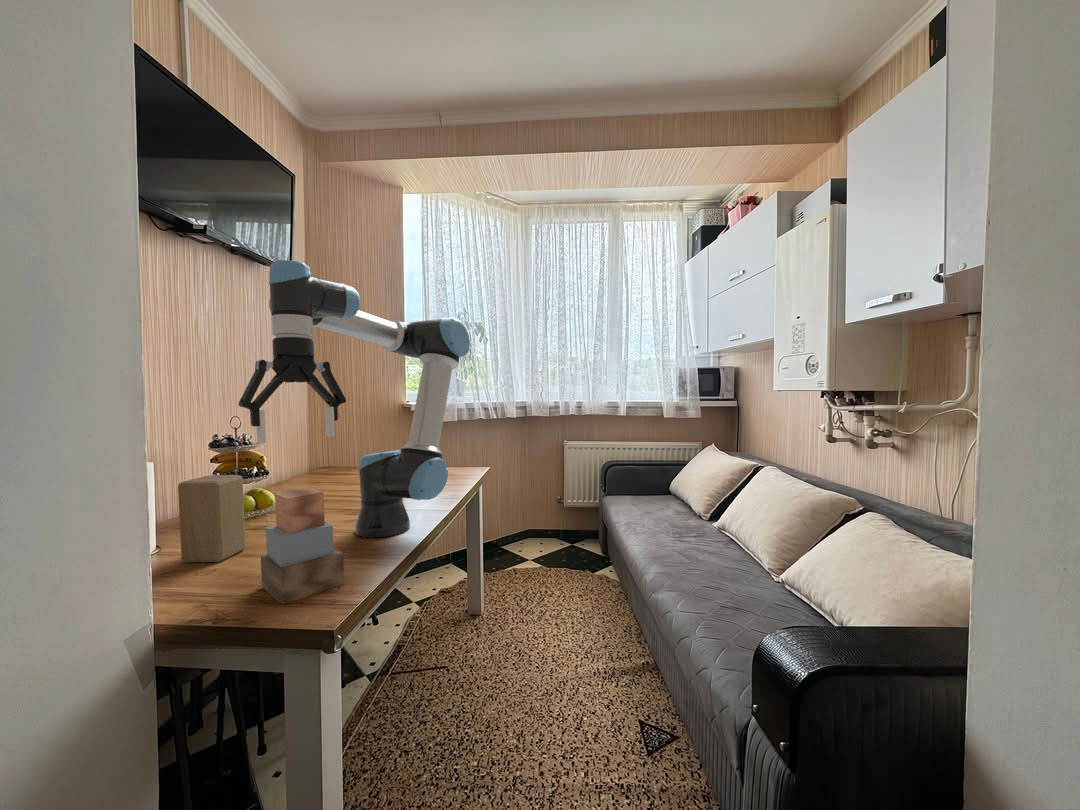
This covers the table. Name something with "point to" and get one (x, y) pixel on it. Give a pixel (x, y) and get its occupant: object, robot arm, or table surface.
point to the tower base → (302, 577)
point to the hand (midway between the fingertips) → (297, 439)
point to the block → (211, 518)
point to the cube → (299, 509)
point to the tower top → (299, 544)
